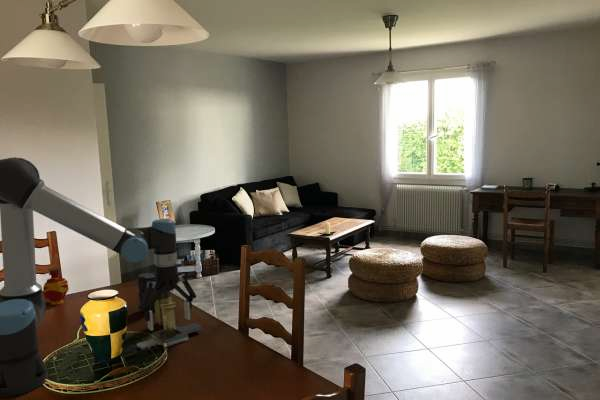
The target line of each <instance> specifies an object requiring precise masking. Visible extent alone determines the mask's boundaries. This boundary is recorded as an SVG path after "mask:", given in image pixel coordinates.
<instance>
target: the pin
mask: <svg viewBox="0 0 600 400" xmlns="http://www.w3.org/2000/svg"><path fill="white" fill-rule="evenodd" d="M176 307H177V302H175V301H173V300H171V301H167V302H163V303H161V304H160V308H161V309H162V311H163V326H162V327H163V329H162V330H164V337H165V338H168V337H171V336H174V335H176V330H175V326H176V314H175V311H176V310H175V308H176Z"/></svg>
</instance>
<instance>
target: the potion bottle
mask: <svg viewBox="0 0 600 400" xmlns="http://www.w3.org/2000/svg"><path fill="white" fill-rule="evenodd" d="M48 271H49V273H48V275H49V276H50V278H48V279H46V282H45V283H44V284H43V287H42V294H43V295H44V296H45V298H47V299H48V300H49V301H51V302H50V305H53V306H55V305H60V304H63V303H64V302H65V301H64V300H63V299H64V298H65V296H66V295H67V293H68V292H69V290H70V289H69V284H68V280H67V279H66V278H64V277H60V276H59V274H61V271H60V268H59V267H54V268H53V267H52V268H49V269H48Z"/></svg>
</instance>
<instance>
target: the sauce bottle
mask: <svg viewBox="0 0 600 400" xmlns="http://www.w3.org/2000/svg"><path fill="white" fill-rule="evenodd" d="M155 279H156V277H155ZM156 287H157V286H156ZM156 287H155V289H156ZM155 289H154V290H155ZM167 301H172V294H171V291H167V292H163V293H162V294H161V295H160V296H159V297H158V299H157V301H156V302H155V312H154V314H155V320H156V324H157V326H161V327H163V311H162V309H161V308H160V304H161V303H163V302H167Z"/></svg>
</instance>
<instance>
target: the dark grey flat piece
mask: <svg viewBox="0 0 600 400" xmlns="http://www.w3.org/2000/svg"><path fill="white" fill-rule="evenodd" d="M202 329H203V327H202V325H200V324H199V323H197V322H194V323H191V324H187V325H183V326H177V325H175V330H176V335H174V336H171V337H168V338H165V337H164V329H161V330H157V331H153V332H152V337H153V336H154V337H155V338H157V339H158V340H159V341H157V340H156V339H153V338H150V339H146V340H144V341H141V342H138V343H136V347H137V346H138V347H140V348H141V349H142V350H143V349H145V348H148V347H151V346H154V345H156V344H158V343H160V342H161V343H163V344H164V343H166V345H167V347H171V346H173V345H177V344H179V343H183V342H186V341H189V334H191V333H194V332H199V331H201V330H202ZM138 347H137V348H138Z"/></svg>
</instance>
